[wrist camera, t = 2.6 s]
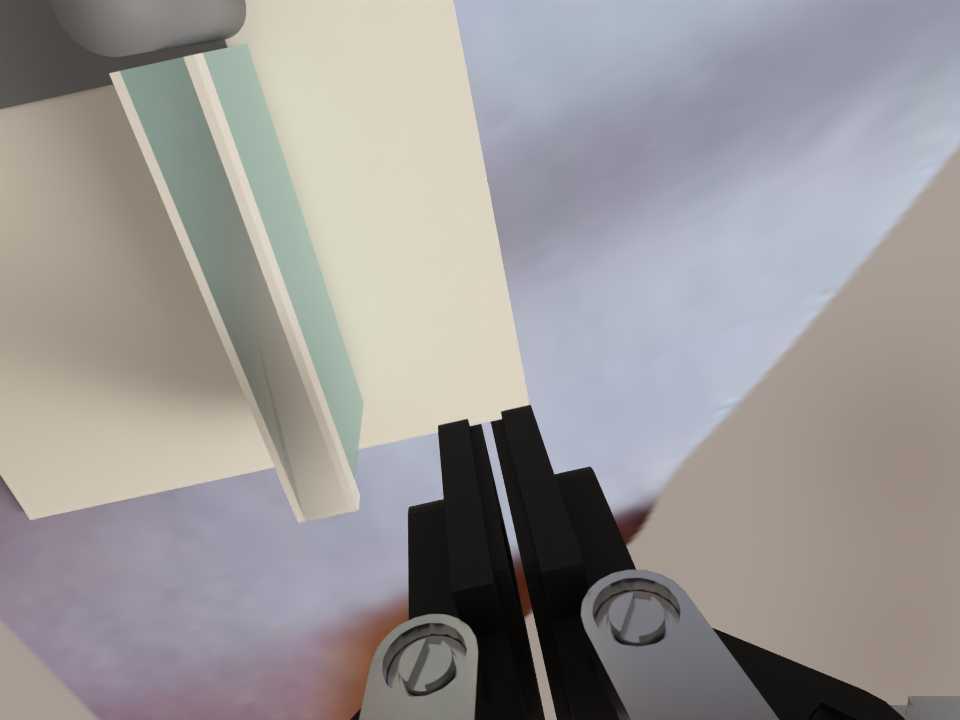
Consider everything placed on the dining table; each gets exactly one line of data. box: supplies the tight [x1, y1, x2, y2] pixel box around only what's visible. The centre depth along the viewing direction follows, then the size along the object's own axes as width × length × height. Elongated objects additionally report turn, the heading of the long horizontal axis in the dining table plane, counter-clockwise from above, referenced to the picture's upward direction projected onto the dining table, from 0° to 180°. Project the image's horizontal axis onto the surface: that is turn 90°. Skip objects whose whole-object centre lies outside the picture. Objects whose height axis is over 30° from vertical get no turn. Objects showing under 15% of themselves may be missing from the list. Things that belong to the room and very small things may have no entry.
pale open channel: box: [109, 44, 364, 523], centre depth 17 cm, size 2×11×6 cm, turn 11°
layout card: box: [0, 0, 529, 520], centre depth 17 cm, size 18×29×1 cm, turn 11°
